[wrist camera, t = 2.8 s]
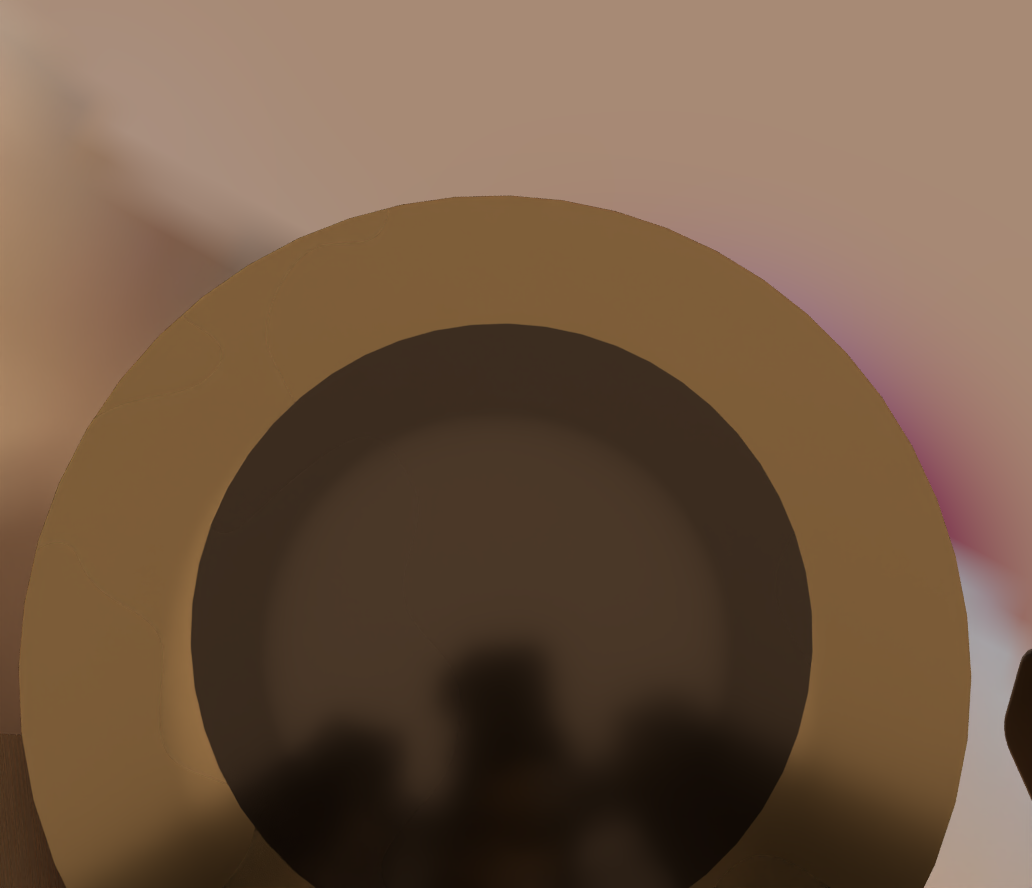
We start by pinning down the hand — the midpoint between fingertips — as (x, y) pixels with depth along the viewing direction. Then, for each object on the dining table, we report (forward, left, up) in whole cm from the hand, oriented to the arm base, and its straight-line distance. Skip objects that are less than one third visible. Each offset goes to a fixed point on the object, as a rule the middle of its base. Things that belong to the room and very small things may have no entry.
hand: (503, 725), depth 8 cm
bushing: (0, 0, -8) cm, 8 cm away
